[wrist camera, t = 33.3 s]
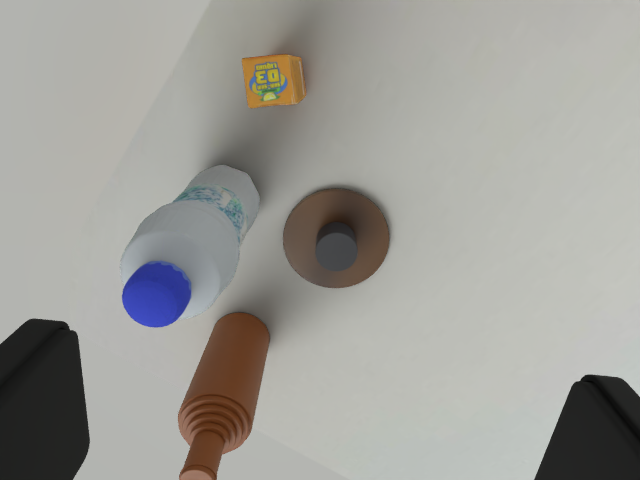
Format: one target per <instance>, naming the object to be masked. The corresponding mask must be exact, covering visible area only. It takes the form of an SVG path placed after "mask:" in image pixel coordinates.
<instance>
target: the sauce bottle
mask: <svg viewBox="0 0 640 480" xmlns="http://www.w3.org/2000/svg"><path fill="white" fill-rule="evenodd" d="M269 341H270V336H269V332H268V329H267V327H266V326H265V324H264V323H263V322H262V321H261V320H260V319H258V318H257V317H255V316H253V315H250V314H247V313H231V314H228V315H226V316H224V317H222V318H221V319H220V320H219V321H218V322H217V323H216V324H215V326H214V329H213V331H212V333H211V336H210V338H209V341H208V343H207V345H206V348H205V350H204V353H203V355H202V357H201V360H200V362H199V365H198V367H197V369H196V372H195V374H194V377H193V379H192V381H191V384H190V386H189V389H188V391H187V393H186V396H185V398H184V401H183V403H182V406H181V408H180V411H179V414H178V423H179V429H180V433H181V435H182V436H183V438H184V439H185V440H186V442H187V443H188V444H189V445H190V450H189V453H188V456H187V459H186V461H185V465H184V467H183V469H182V470H181V472H180V475H179V479H180V480H217V471H218V467H219V463H220V460H221V456H222V454H225V453H227V452H229V451H232V450H234V449H236V448H238V447H239V446H240V445H242V444H243V442H244V441H245V440H246V439H247V437H248V436H249V434H250V432H251V429H252V425H253V420H254V415H255V410H256V405H257V400H258V395H259V390H260V385H261V381H262V376H263V371H264V366H265V361H266V356H267V351H268V346H269Z"/></svg>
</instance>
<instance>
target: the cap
mask: <svg viewBox="0 0 640 480" xmlns="http://www.w3.org/2000/svg"><path fill="white" fill-rule="evenodd" d="M357 254H358V250H357V243H356V236H355V233H354V232H353V230H352V229H351V228H350V227H349V226H348V225H346V224H344V223H340V222H332V223H329V224H326V225H325V226H323V227H322V228H321V229H320V230H319V232H318V234H317V237H316V249H315V255H316V259H317V261H318V262H319V264H320V265H321V266H322V267H324V268H325V269H327V270H330V271H343V270H346V269H348V268H349V267H350V266H352V265H353V263H354V262H355V260H356V258H357Z"/></svg>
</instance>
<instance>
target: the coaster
mask: <svg viewBox="0 0 640 480" xmlns="http://www.w3.org/2000/svg"><path fill="white" fill-rule="evenodd" d="M332 222H340V223H344V224H346V225H348V226H349V227H350V228H351V229H352V230H353V232H354V233H355V236H356V243H357V250H358V254H357V258H356V260H355V262H354V263H353V265H352V266H350V267H349V268H348V269H346V270H343V271H330V270H327V269H325V268H324V267H322V266H321V265H320V264H319V262H318V261H317V259H316V255H315V249H316V237H317V234H318V232H319V230H320V229H321V228H322V227H323V226H325V225H326V224H329V223H332ZM283 245H284V250H285V254H286V256H287V259H288V261H289V262H290V264H291V266H292V267H293V268H294V270H295V271H296V272H297V273H298V274H299V275H300V276H302V277H303V278H305V279H306V280H308V281H310V282H311V283H314V284H316V285H319V286H323V287H328V288H344V287H349V286H352V285H356V284H358V283H360V282H362V281H364V280H366V279H367V278H369V277H370V276H371V275H373V274H374V273H375V272H376V271H377V270H378V268H379V267H380V266H381V264H382V262H383V261H384V259H385V257H386V254H387V251H388V247H389V231H388V226H387V223H386V220H385V218H384V216H383V214H382V212H381V211H380V210H379V208H378V207H377V206H376V205H375V204H374V203H373V202H372V201H371V200H370V199H368V198H367V197H365V196H363V195H362V194H359V193H357V192H354V191H351V190H347V189H336V188H335V189H326V190H321V191H318V192H316V193H313V194H311V195H309V196H308V197H306V198H305V199H303V200H302V201H301V202H300V203H298V204H297V205H296V207H295V208H294V209H293V210H292V212H291V213H290V215H289V217H288V219H287V221H286V224H285V228H284V234H283Z"/></svg>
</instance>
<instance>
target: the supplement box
mask: <svg viewBox="0 0 640 480" xmlns="http://www.w3.org/2000/svg"><path fill="white" fill-rule="evenodd" d="M242 66H243V72H244V80H245V87H246V95H247V103H248V107H249V108H258V107H265V106H276V105H295V104H298V103H299V102H300V101H301V100H302V99H303V98H304V97H305V96H306V87H305V80H304V73H303V66H302V60H301V58H300V57H295V56H291V55H288V54H280V55H268V56H259V57H250V58H242Z"/></svg>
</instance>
